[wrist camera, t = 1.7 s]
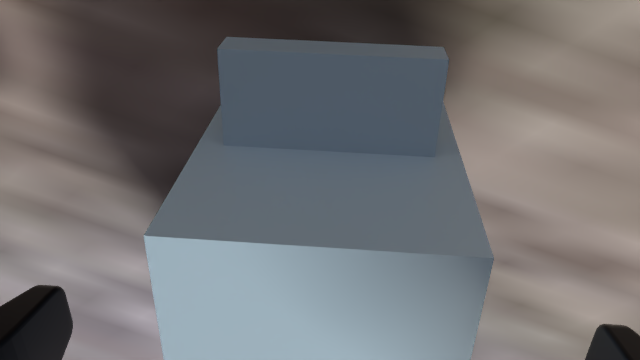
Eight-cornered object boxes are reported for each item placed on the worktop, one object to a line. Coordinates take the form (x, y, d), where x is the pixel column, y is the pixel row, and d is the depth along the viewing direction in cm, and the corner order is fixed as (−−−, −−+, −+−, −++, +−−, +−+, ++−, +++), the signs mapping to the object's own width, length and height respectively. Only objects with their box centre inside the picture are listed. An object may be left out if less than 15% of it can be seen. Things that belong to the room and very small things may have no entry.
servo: (449, 7, 10) (522, 137, 5) (400, 354, 15) (417, 589, 10) (234, -1, 10) (123, 116, 6) (250, 342, 15) (197, 568, 10)
